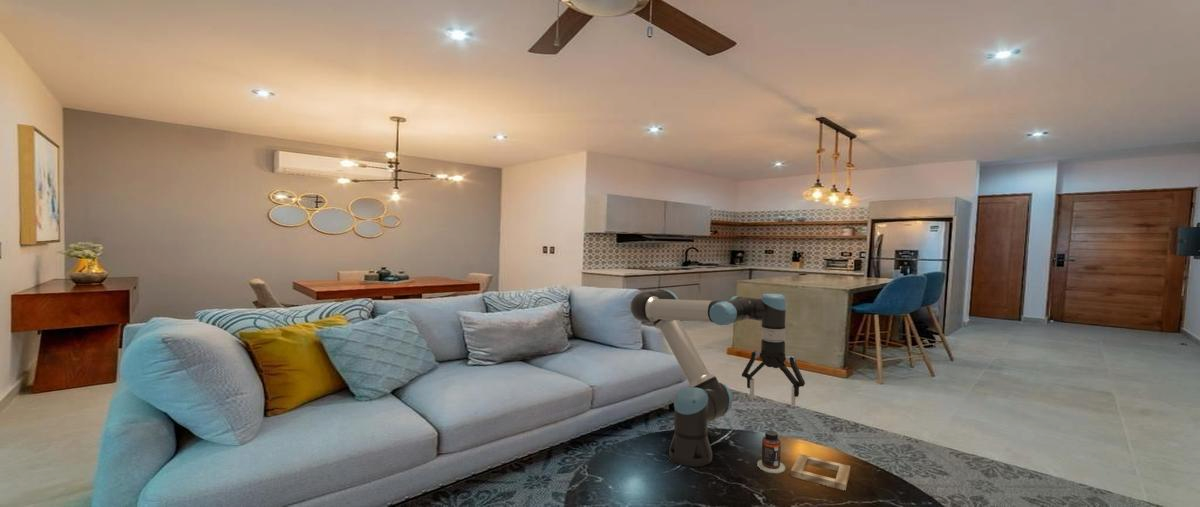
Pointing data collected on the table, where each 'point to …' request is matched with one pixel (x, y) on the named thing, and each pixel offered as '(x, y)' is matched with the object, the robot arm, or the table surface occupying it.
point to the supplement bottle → (771, 450)
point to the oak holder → (835, 483)
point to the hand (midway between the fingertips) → (772, 401)
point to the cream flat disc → (770, 470)
